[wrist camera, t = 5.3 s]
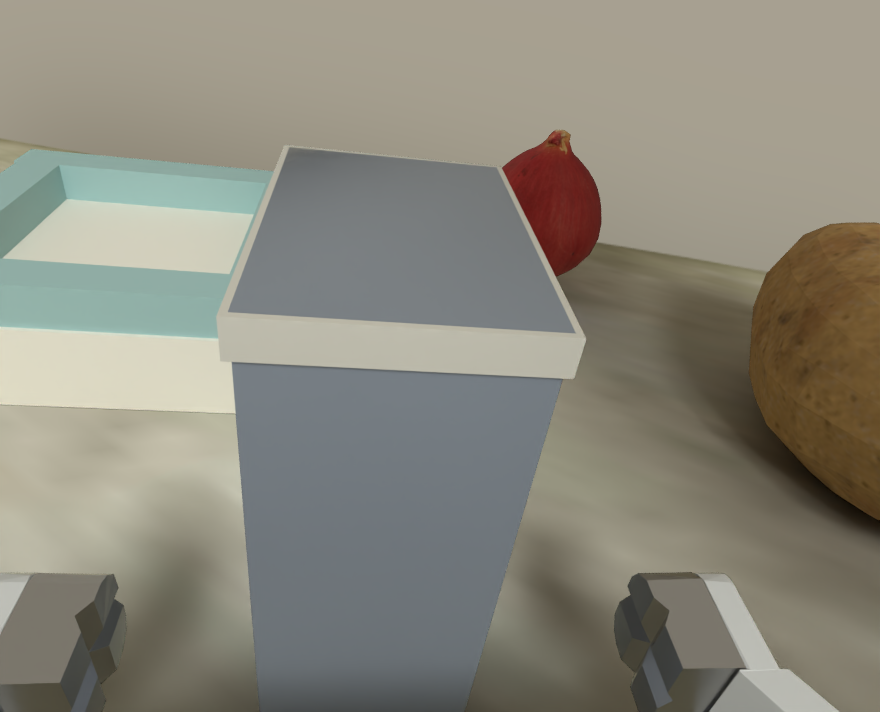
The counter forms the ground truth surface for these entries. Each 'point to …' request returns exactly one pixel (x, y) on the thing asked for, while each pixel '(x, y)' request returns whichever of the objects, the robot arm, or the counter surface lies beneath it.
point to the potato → (824, 357)
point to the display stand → (119, 280)
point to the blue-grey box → (386, 421)
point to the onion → (557, 200)
